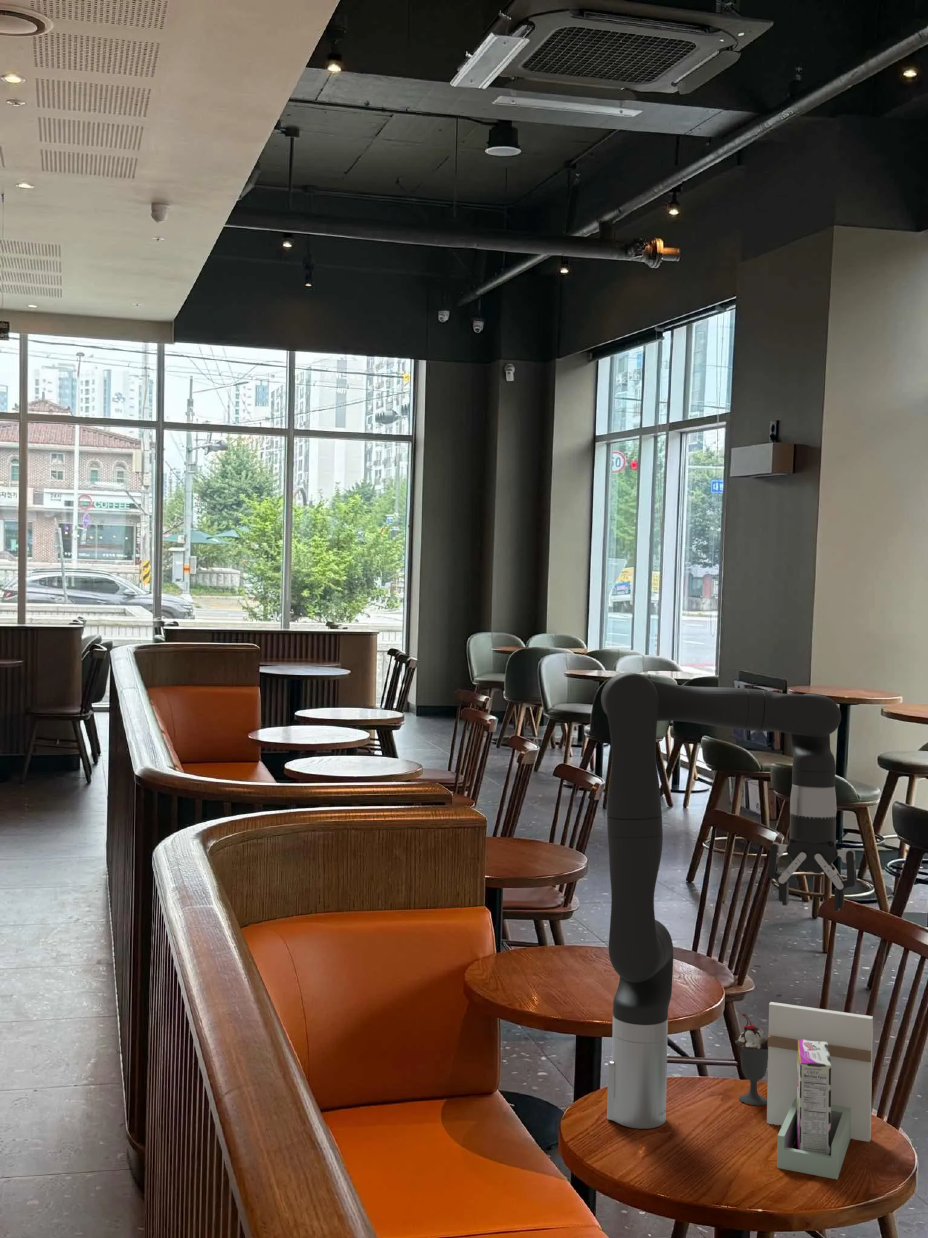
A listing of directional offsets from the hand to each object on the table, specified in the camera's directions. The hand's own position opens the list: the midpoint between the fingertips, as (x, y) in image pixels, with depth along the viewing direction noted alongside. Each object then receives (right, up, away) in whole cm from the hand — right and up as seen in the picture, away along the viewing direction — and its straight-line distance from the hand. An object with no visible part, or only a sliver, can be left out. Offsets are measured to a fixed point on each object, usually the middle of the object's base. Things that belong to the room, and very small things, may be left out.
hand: (811, 907), depth 206 cm
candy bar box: (-4, -36, -13) cm, 39 cm away
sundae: (-8, -36, +9) cm, 38 cm away
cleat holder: (-3, -36, -12) cm, 38 cm away
